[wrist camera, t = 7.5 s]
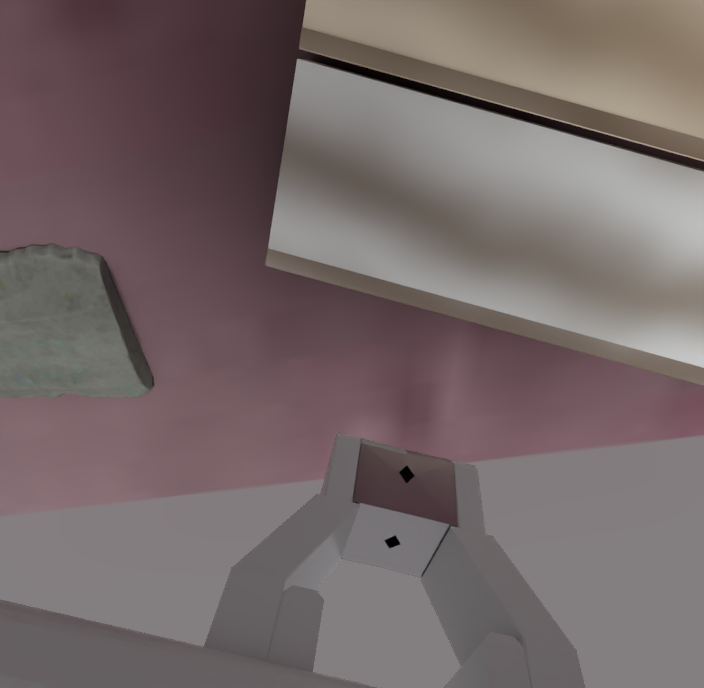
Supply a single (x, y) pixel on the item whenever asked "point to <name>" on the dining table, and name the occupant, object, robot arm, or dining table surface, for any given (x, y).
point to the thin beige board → (538, 57)
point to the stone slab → (65, 327)
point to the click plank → (492, 220)
